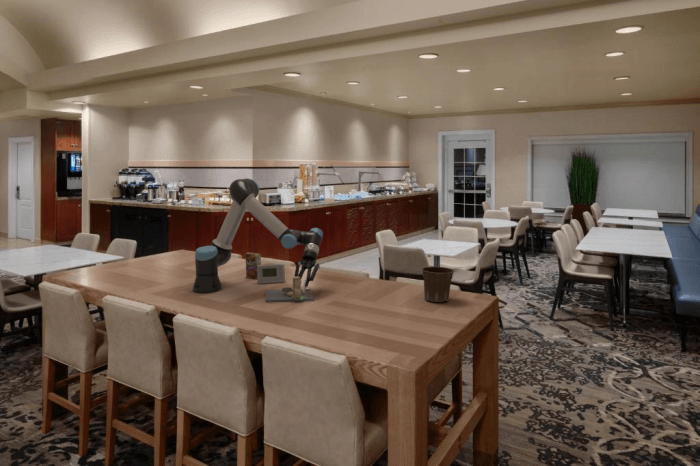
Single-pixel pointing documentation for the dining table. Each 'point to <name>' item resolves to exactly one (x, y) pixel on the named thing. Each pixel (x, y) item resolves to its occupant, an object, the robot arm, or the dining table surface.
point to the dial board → (283, 297)
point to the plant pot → (437, 283)
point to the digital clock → (270, 273)
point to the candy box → (252, 264)
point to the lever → (294, 288)
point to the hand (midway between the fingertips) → (300, 291)
